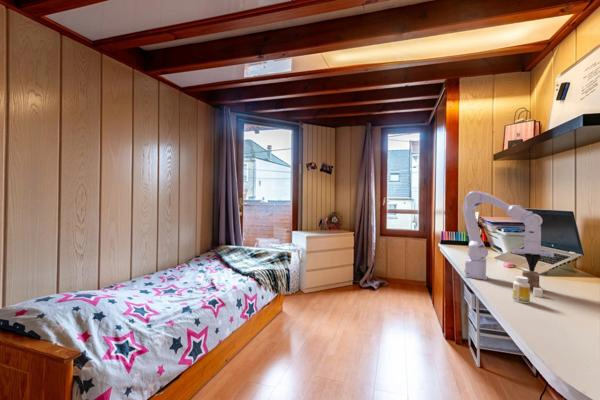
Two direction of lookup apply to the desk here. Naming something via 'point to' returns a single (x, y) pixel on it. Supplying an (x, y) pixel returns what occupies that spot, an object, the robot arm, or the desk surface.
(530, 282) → the brown rectangular block
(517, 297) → the supplement bottle
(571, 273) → the desk surface
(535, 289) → the off-white cube
